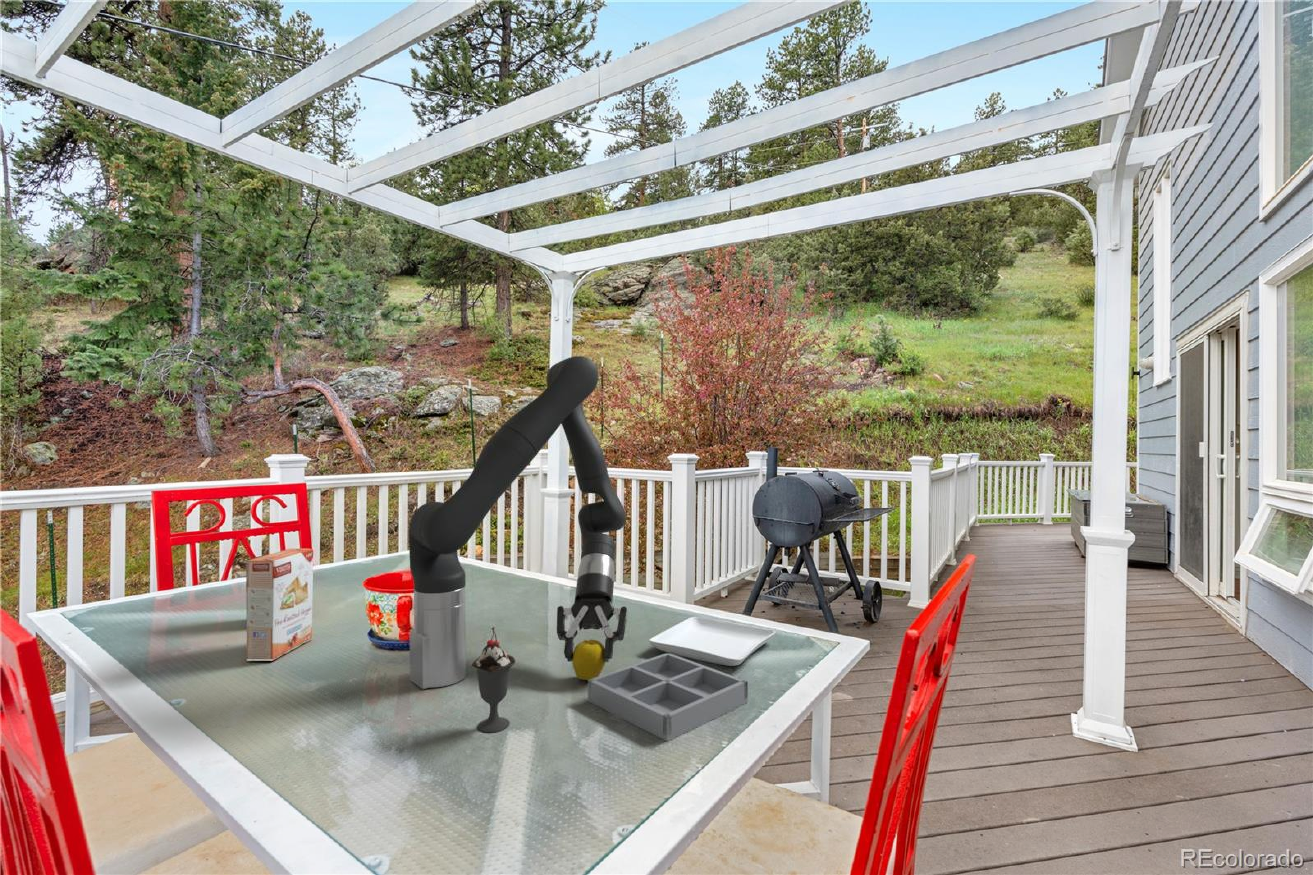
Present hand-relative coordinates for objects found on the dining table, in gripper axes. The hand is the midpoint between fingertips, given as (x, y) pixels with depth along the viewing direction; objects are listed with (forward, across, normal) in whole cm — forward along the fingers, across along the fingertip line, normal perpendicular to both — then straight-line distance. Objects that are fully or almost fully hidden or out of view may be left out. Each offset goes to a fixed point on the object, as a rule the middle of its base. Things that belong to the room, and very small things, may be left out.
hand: (587, 659), depth 113 cm
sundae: (+15, -13, -9) cm, 22 cm away
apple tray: (+8, +15, -2) cm, 17 cm away
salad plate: (-10, +25, +17) cm, 32 cm away
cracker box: (-8, -68, +14) cm, 70 cm away
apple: (+2, 0, +4) cm, 5 cm away
